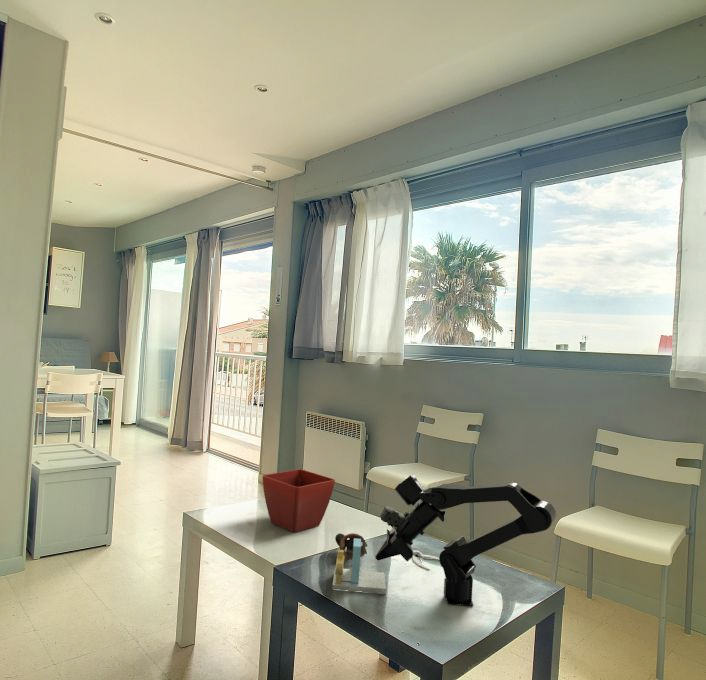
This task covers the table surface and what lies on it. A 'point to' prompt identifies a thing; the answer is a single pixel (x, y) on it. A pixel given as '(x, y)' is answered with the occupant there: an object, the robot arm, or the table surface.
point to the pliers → (423, 558)
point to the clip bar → (353, 564)
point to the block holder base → (367, 579)
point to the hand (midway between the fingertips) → (376, 558)
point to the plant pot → (297, 498)
